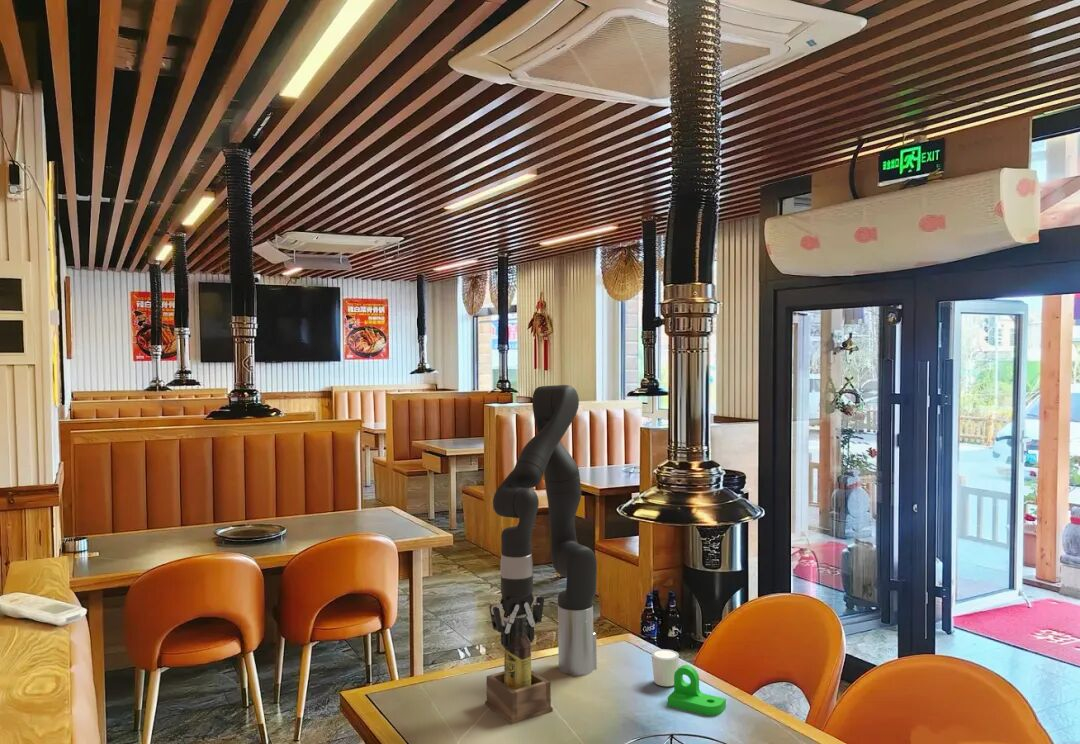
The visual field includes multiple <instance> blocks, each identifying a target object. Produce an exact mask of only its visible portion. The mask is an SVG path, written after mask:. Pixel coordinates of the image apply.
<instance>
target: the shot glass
mask: <svg viewBox="0 0 1080 744" xmlns="http://www.w3.org/2000/svg"><path fill="white" fill-rule="evenodd" d="M679 658H680V654H679V653H678V652H677V651H674V650H673V649H665V648H662V649H656V650H654V651H652V652H651V663H652V673H653V681H654V683H655V684H656V685H658V686H660V687H661V686H662V687H674V674H675V672H676V671H677V670H678V669H679Z"/></svg>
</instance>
